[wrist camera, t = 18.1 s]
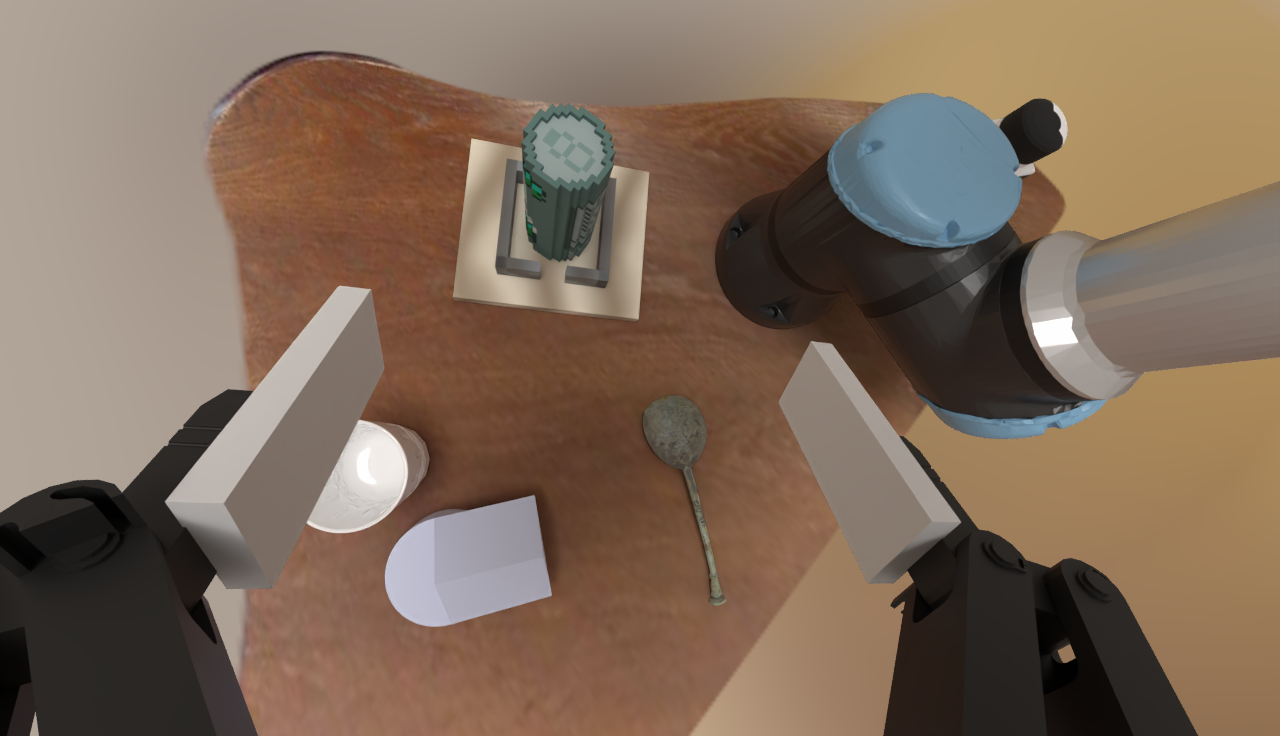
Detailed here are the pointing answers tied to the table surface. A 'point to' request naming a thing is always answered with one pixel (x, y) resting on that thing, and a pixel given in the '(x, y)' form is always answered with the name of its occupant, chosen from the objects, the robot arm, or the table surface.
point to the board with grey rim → (521, 277)
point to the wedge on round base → (468, 563)
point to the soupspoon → (682, 457)
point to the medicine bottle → (1034, 132)
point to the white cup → (371, 477)
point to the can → (564, 179)
